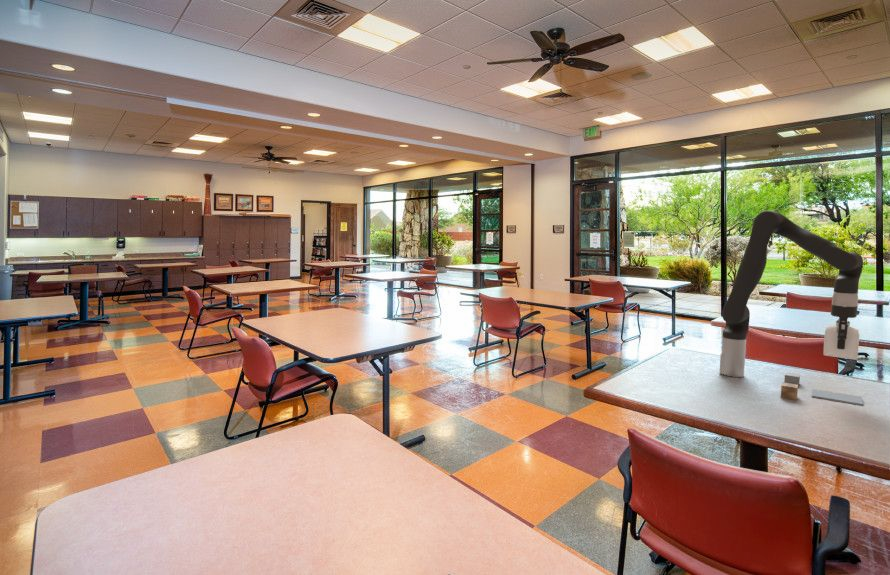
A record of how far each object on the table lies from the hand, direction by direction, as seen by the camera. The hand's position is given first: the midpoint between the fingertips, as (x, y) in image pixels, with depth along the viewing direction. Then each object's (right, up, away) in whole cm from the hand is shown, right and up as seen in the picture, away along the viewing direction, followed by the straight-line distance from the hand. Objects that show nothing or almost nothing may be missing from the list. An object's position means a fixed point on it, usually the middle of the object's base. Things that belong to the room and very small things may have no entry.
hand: (840, 347), depth 178 cm
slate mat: (0, -20, +2) cm, 20 cm away
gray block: (-4, -18, +19) cm, 27 cm away
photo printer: (0, -4, 0) cm, 4 cm away
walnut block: (-18, -20, +3) cm, 27 cm away
